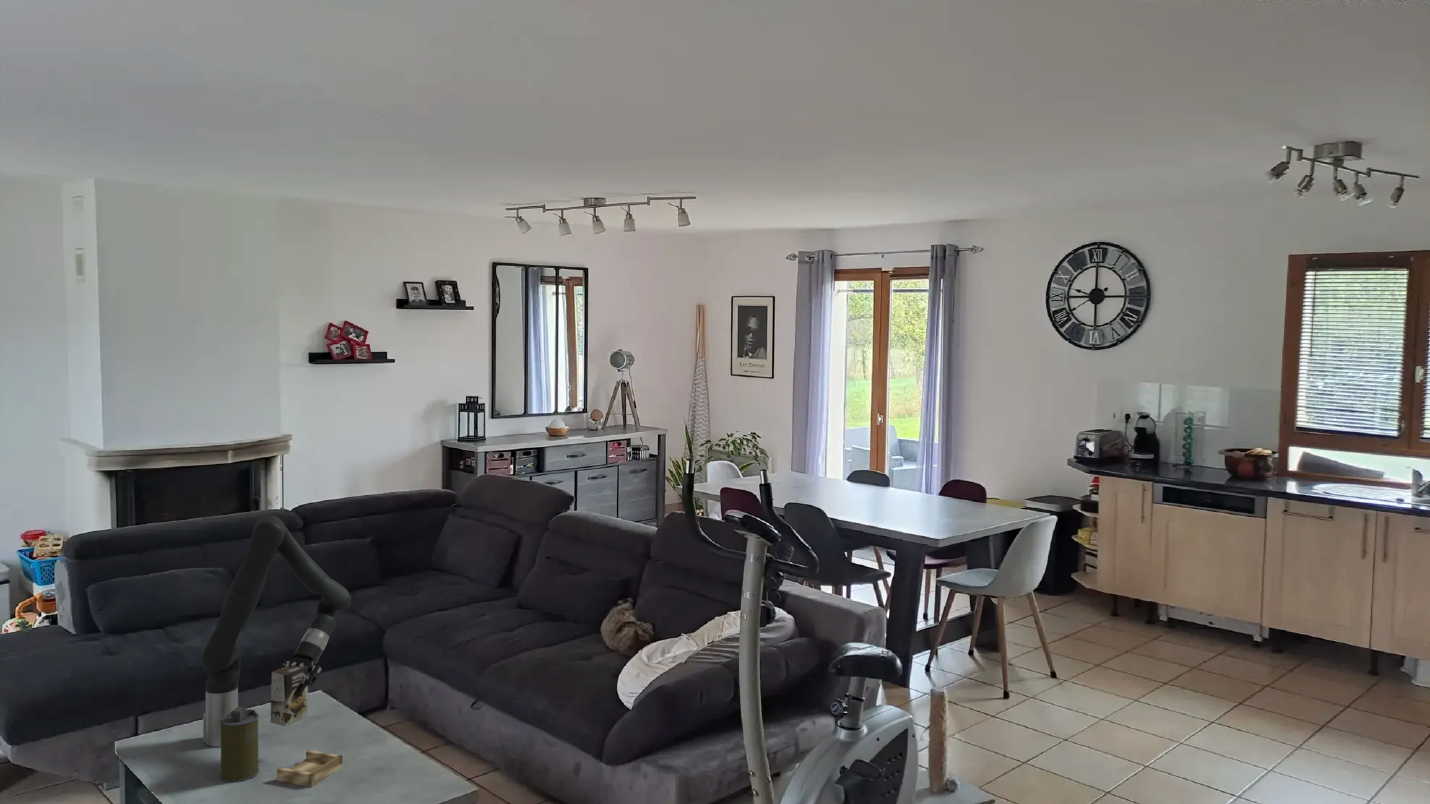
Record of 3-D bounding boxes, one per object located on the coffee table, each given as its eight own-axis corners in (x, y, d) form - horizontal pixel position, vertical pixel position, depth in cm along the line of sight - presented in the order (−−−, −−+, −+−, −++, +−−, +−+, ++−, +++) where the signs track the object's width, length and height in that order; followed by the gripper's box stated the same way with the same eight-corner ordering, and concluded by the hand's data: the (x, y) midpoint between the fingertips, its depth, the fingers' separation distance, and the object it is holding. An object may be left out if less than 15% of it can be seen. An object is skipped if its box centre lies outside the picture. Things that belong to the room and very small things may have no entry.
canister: (243, 784, 290) (243, 717, 289) (212, 779, 292) (211, 713, 291) (267, 768, 301) (267, 703, 299) (237, 764, 303) (236, 700, 301)
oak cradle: (277, 780, 293) (276, 768, 293) (308, 761, 306) (308, 749, 306) (311, 787, 290) (311, 775, 289) (342, 767, 303) (342, 755, 303)
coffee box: (286, 727, 302) (286, 675, 301) (269, 723, 305) (270, 671, 303) (308, 716, 311) (309, 666, 309) (292, 712, 313) (293, 662, 312)
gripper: (287, 637, 315) (260, 686, 305) (326, 643, 311) (300, 692, 301) (298, 648, 321) (272, 697, 310) (336, 654, 317) (311, 703, 306)
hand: (286, 694), depth 306 cm, fingers closed on coffee box, 6 cm apart
